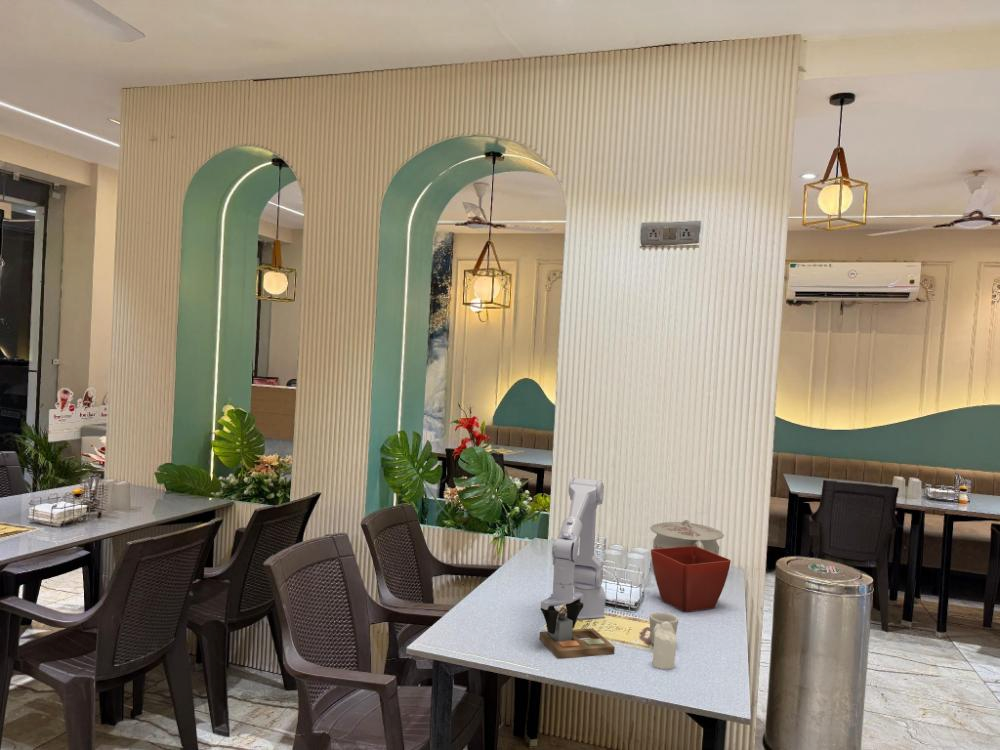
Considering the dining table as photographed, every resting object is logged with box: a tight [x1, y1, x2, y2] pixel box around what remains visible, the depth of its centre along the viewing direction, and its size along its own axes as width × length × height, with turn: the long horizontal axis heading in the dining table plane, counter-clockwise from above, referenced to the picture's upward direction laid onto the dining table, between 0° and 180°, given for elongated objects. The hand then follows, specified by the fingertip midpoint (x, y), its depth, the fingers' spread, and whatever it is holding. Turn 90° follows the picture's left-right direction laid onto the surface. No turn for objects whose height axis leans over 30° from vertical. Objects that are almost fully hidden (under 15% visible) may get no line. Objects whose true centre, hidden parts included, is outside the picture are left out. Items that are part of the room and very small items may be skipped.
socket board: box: [539, 628, 616, 660], centre depth 207 cm, size 16×14×2 cm
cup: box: [649, 611, 679, 645], centre depth 210 cm, size 11×8×8 cm
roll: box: [652, 621, 677, 670], centre depth 197 cm, size 6×12×6 cm
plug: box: [549, 612, 573, 642], centre depth 209 cm, size 4×4×8 cm
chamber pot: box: [649, 519, 725, 556], centre depth 285 cm, size 28×28×21 cm
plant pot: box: [650, 546, 732, 613], centre depth 248 cm, size 19×19×17 cm
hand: (560, 630), depth 209 cm, fingers open, 7 cm apart
